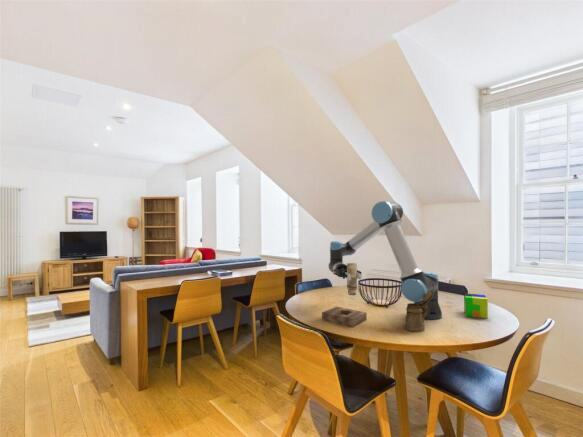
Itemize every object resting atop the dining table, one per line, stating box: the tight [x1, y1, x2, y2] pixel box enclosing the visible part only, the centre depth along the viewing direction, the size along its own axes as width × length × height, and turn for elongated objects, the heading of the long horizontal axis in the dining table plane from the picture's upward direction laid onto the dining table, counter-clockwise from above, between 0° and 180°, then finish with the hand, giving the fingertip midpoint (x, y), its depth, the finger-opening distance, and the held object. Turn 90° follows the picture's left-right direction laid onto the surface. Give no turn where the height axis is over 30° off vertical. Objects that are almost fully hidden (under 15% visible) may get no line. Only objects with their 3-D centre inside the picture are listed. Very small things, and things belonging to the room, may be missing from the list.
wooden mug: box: [403, 290, 433, 333], centre depth 149 cm, size 9×14×18 cm, turn 91°
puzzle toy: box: [463, 293, 489, 319], centre depth 171 cm, size 10×10×10 cm
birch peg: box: [346, 262, 358, 296], centre depth 164 cm, size 5×5×16 cm
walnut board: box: [321, 306, 368, 328], centre depth 162 cm, size 18×14×4 cm
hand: (355, 277), depth 159 cm, fingers closed on birch peg, 5 cm apart
